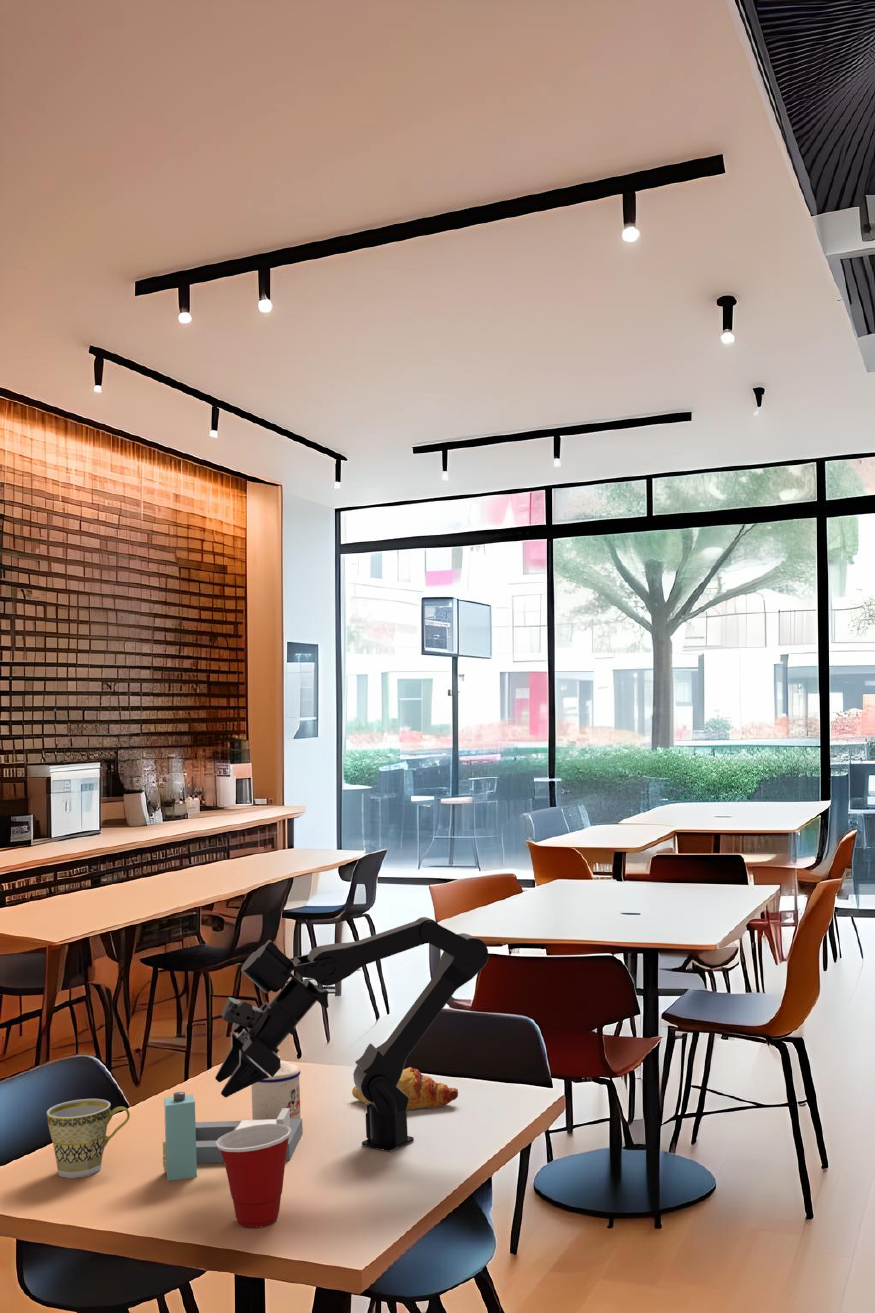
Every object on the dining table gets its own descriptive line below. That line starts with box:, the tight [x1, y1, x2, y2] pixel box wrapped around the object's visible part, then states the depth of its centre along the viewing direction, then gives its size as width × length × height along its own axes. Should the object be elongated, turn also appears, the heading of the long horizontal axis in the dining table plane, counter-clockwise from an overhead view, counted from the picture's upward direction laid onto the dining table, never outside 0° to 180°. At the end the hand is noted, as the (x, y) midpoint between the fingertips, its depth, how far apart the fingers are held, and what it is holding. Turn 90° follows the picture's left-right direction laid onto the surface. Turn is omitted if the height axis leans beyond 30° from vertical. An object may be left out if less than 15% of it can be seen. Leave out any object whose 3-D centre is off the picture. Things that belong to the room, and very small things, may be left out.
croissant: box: [351, 1066, 459, 1111], centre depth 213 cm, size 21×10×8 cm, turn 73°
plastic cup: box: [216, 1124, 292, 1229], centre depth 162 cm, size 11×11×12 cm
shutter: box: [236, 1108, 290, 1130], centre depth 193 cm, size 8×8×3 cm
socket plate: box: [195, 1118, 304, 1164], centre depth 192 cm, size 19×13×2 cm
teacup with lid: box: [251, 1054, 302, 1120], centre depth 207 cm, size 12×9×12 cm
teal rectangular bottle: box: [162, 1091, 198, 1182], centre depth 182 cm, size 5×4×12 cm
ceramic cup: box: [46, 1098, 130, 1179], centre depth 186 cm, size 13×10×10 cm
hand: (219, 1088), depth 184 cm, fingers open, 9 cm apart
